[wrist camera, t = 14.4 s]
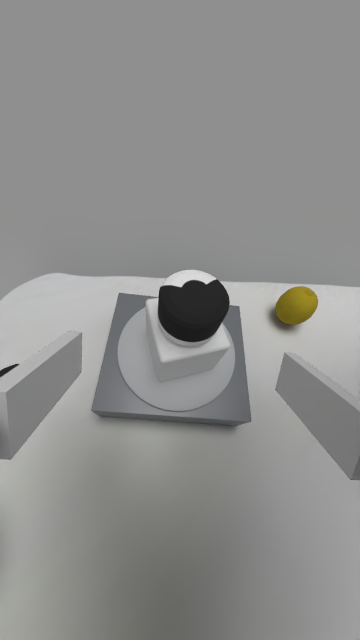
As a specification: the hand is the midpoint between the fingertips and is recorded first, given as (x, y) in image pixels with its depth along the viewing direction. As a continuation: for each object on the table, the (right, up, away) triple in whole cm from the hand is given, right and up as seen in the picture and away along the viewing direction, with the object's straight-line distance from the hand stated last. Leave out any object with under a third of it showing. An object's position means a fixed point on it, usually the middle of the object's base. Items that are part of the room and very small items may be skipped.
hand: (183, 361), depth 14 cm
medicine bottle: (0, -1, +14) cm, 14 cm away
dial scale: (-1, -4, +19) cm, 19 cm away
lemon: (+18, +3, +26) cm, 32 cm away
